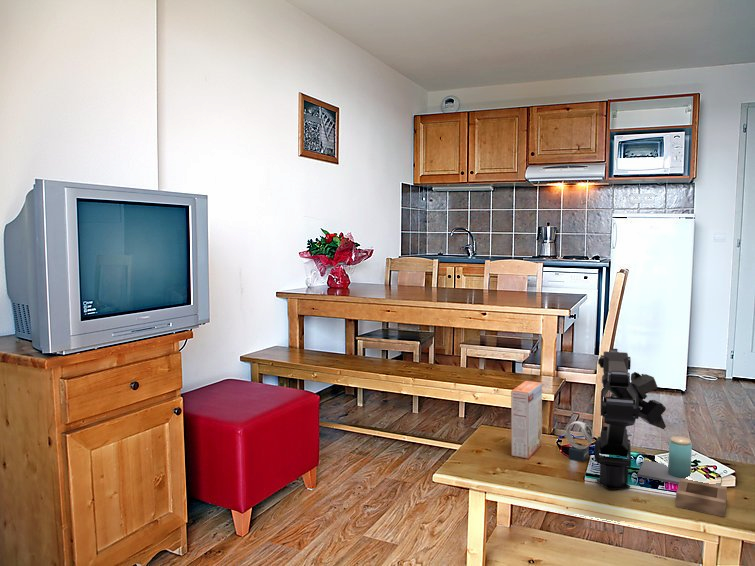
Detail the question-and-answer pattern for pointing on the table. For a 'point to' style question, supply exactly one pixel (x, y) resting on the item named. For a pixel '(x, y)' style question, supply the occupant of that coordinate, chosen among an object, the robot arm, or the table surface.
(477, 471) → the table surface
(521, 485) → the table surface
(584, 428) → the watch
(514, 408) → the cracker box
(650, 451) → the table surface
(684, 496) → the walnut frame
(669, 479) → the gray rectangular panel
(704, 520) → the table surface
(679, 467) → the teal jar
